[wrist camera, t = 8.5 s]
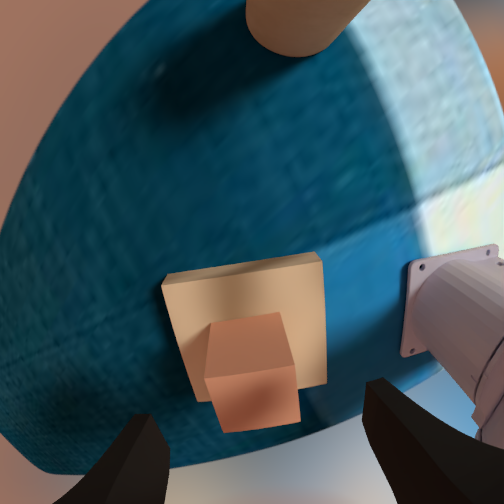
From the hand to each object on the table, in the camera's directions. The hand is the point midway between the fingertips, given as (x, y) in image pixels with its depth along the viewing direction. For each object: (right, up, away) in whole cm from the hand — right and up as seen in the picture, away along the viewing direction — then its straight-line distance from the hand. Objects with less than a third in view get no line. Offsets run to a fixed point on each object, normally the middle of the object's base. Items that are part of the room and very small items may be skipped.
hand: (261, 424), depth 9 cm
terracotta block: (0, 0, +9) cm, 9 cm away
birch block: (0, +1, +11) cm, 11 cm away
